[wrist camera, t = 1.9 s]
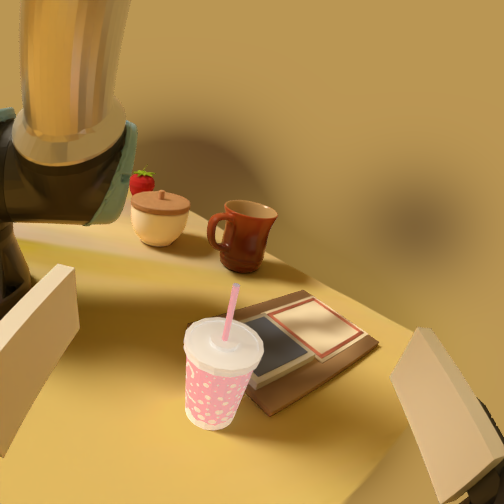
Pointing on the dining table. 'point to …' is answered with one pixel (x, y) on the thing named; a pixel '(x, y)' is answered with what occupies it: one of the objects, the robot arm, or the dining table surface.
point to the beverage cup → (219, 367)
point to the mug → (242, 234)
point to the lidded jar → (159, 216)
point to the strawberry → (141, 182)
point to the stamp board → (298, 347)
